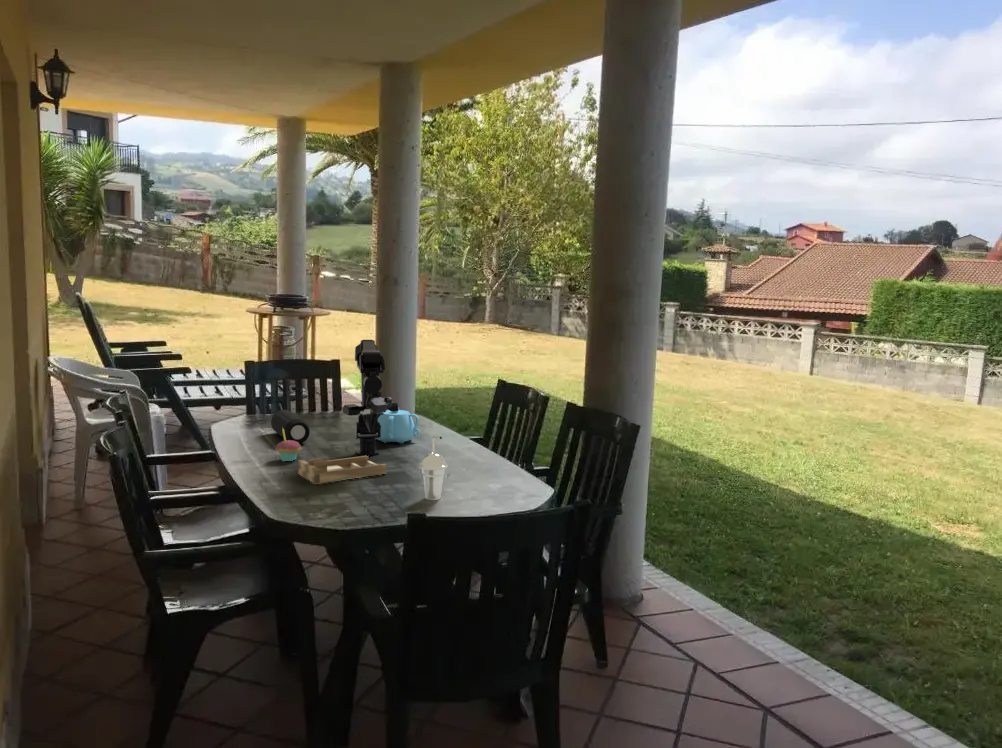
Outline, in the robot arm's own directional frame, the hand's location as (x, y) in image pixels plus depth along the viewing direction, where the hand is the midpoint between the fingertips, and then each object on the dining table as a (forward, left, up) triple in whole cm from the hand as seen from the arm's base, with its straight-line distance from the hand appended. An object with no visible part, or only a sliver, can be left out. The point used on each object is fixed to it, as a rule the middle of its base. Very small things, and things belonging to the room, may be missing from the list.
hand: (370, 432), depth 275 cm
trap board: (+6, -13, -12) cm, 19 cm away
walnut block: (+6, -22, -10) cm, 25 cm away
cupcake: (-21, -21, -12) cm, 32 cm away
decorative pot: (-30, +26, -12) cm, 41 cm away
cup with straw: (+44, -1, -12) cm, 46 cm away
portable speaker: (-53, -8, -12) cm, 55 cm away
